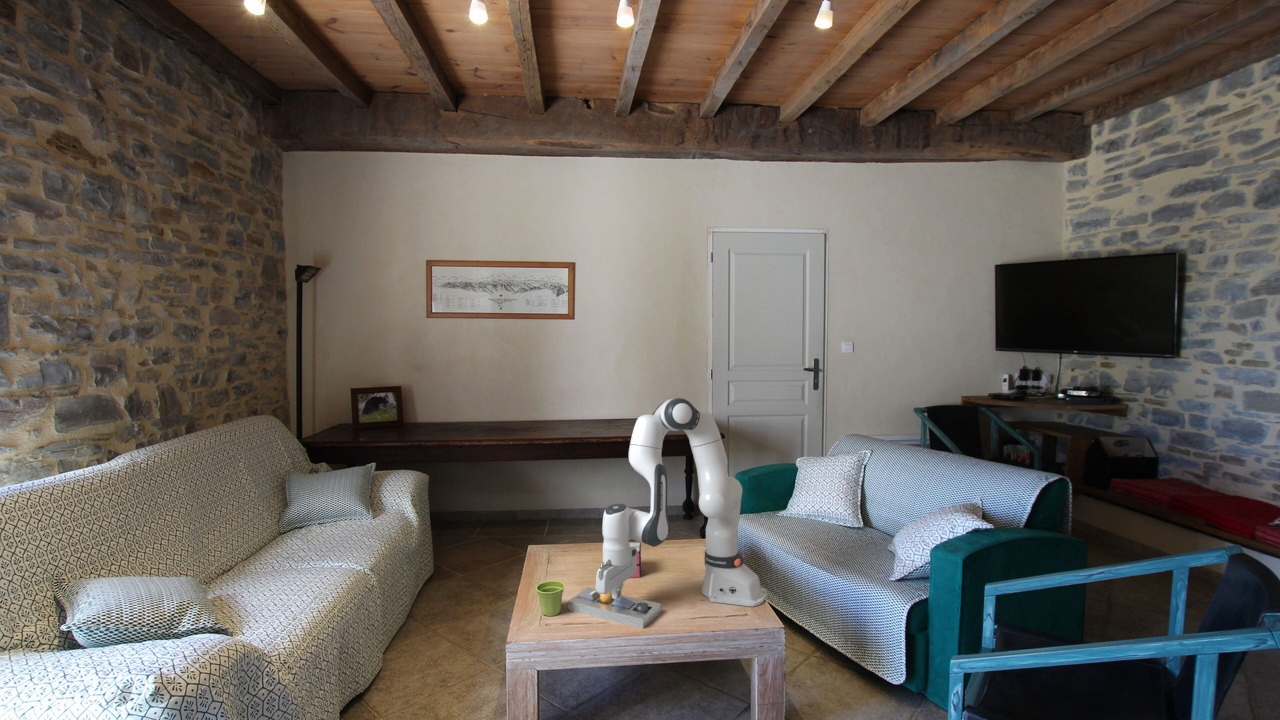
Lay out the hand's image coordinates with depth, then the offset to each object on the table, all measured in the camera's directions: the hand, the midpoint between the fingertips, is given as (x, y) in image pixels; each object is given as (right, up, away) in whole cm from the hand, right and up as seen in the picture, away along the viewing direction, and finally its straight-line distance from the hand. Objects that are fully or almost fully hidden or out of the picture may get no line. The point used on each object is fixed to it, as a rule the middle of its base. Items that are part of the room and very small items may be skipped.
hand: (616, 597), depth 202 cm
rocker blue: (+2, -2, -1) cm, 3 cm away
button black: (+8, -4, -4) cm, 10 cm away
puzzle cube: (+3, -4, +33) cm, 33 cm away
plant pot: (-22, -5, 0) cm, 22 cm away
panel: (-1, -5, +1) cm, 5 cm away
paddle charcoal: (-10, -2, +5) cm, 11 cm away
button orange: (-4, -2, +2) cm, 5 cm away
